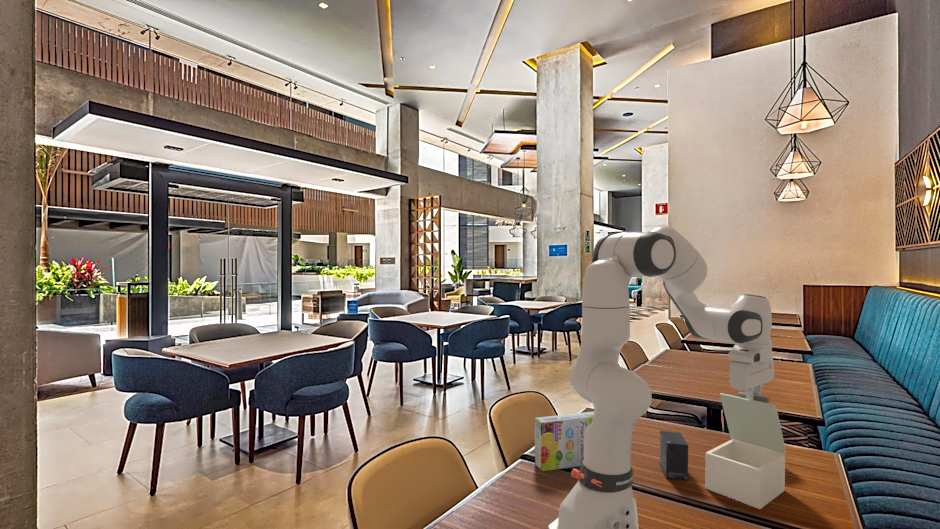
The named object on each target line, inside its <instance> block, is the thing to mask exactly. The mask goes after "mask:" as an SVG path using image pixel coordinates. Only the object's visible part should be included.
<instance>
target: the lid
mask: <svg viewBox="0 0 940 529" xmlns="http://www.w3.org/2000/svg"><path fill="white" fill-rule="evenodd" d="M719 397H720V398H719V399H720V402H721V404H722V409H723V414H724V417H725V420H726V424H727V425H726V426H727V429H728V433H729V436H730V440H731V439H735V440H738V441H742V442H745V443H749V444H752V445H756V446H759V447H763V448H766V449H770V450H773V451H777V452H778V453H781V454H785V455H786V454H787V450H786V445H785V440H784V436H783V431H782V427H781V422H780V418H779V414H778V408H777V404H773V403H770V400H769V399H770V398H769V397H767V396H762V395H760V396H758V395H755V400H751V399H747V398H746V394H745V391H743V392H742V391H738V392H737V395H732V394H728V393H723V392H719Z"/></svg>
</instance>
